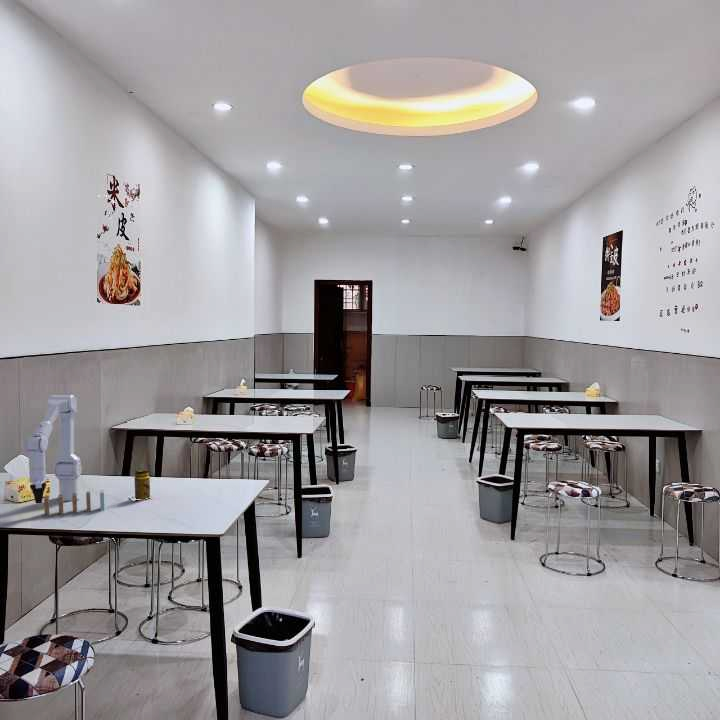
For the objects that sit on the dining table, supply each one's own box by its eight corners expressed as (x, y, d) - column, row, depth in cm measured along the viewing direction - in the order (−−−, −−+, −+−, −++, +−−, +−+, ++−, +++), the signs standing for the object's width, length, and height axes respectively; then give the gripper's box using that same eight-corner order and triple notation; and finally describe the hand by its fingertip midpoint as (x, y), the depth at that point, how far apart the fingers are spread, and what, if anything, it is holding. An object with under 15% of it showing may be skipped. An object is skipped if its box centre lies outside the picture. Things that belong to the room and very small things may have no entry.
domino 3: (73, 510, 278) (72, 493, 278) (77, 510, 279) (76, 492, 278) (72, 513, 274) (72, 495, 274) (76, 513, 274) (76, 495, 274)
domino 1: (45, 513, 275) (44, 495, 274) (49, 512, 275) (48, 495, 275) (44, 516, 271) (44, 498, 270) (48, 515, 271) (48, 497, 271)
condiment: (153, 498, 294) (152, 470, 294) (132, 502, 290) (131, 473, 289) (148, 495, 301) (147, 467, 300) (127, 498, 296) (126, 470, 295)
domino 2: (59, 511, 276) (58, 494, 276) (63, 511, 277) (62, 493, 276) (58, 514, 272) (58, 496, 272) (62, 514, 273) (62, 496, 272)
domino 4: (86, 509, 280) (86, 491, 279) (90, 508, 280) (90, 491, 280) (86, 512, 276) (86, 494, 275) (90, 511, 276) (89, 494, 276)
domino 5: (100, 507, 282) (99, 490, 281) (104, 507, 282) (103, 490, 282) (100, 510, 277) (99, 493, 277) (104, 510, 278) (103, 492, 277)
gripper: (49, 470, 266) (51, 505, 267) (47, 463, 279) (49, 497, 280) (28, 472, 263) (30, 508, 264) (28, 465, 276) (29, 499, 277)
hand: (38, 502), depth 272 cm, fingers closed
